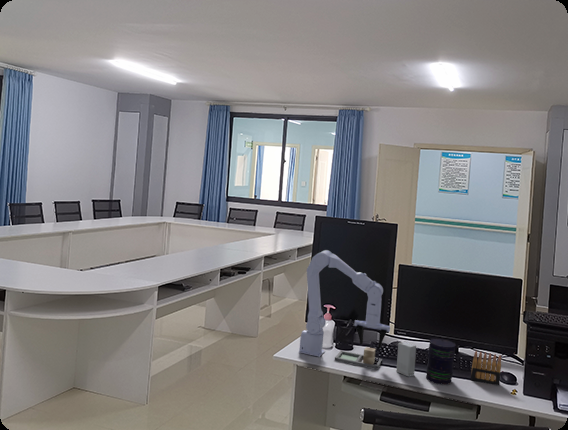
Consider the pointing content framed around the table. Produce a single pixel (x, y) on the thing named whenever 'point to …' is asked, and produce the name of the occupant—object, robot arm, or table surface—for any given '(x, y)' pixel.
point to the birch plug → (369, 355)
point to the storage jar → (440, 361)
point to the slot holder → (355, 359)
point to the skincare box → (406, 358)
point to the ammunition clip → (486, 369)
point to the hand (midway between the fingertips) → (370, 345)
